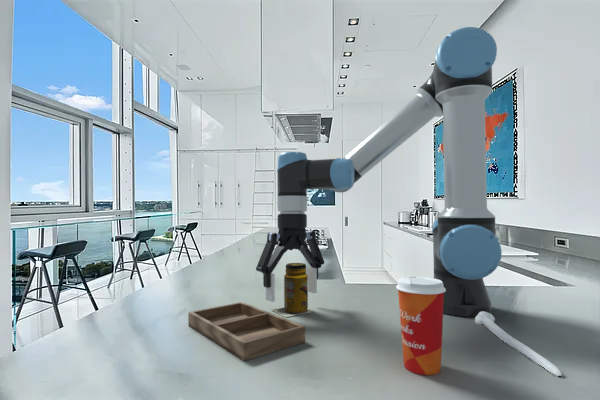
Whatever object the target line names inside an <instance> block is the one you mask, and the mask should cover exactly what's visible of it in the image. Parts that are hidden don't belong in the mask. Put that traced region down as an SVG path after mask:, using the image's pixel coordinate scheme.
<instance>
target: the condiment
mask: <svg viewBox="0 0 600 400" xmlns="http://www.w3.org/2000/svg"><path fill="white" fill-rule="evenodd" d="M283 285H284V286H283V289H284V290H283V295H284V296H283V297H284V298H283V301H284V303H283V304H284V306H283V307H279V308H272V309H271V311H273V312H274V313H276V314H278V316H279V315H280V316H281V317H284V318H288V317H293V316H299V315H305V314H310V313H315V310H312V309H309V308H308V307H309V302H308V301H309V299H308V297H309V294H308V293H309V292H308V273H307V265H306V264H305V263H304V262H289V263H286V265H285V274H284V275H283Z"/></svg>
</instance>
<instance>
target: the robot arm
mask: <svg viewBox="0 0 600 400" xmlns="http://www.w3.org/2000/svg"><path fill="white" fill-rule="evenodd" d="M497 52H498V48H497V42H496V40H495V39H494V37H493V36H492V34H491V33H489V32H488V31H486V30H484V29H483V28H481V27H476V26H466V27H460V28H458V29H456V30H453V31H451V32H450V33H448V34H447V35H446V36H445V37H444V38H443V39H442V41H441V42H440V44H439V46H438V47H437V49H436V53H435V59H434V65H433V69H432V70H433V71H432V73H431V75H430V76H429V78H428V79H426V81H425V82H424V83H422V85H421V86H420V87H419V88H417V90H416V95H415V96H414V97H412V98H411V99H410V100H409V101H408V102H407V103H406V104H404V106H402V107H401V108H400V109H398V110H397V111H396V112H395V113H394V114H393V115H392V116H390V118H388V119H387V120H386V121H384V122H383V123H382V124H381V125H380V126H379V127H377V128H376V129H375V130H374V131H373V132H372V133H370V134H369V136H367V137H366V138H365V139H364V140H362V141H361V142H360V143H359V144H357V146H355V147H354V148H353V149H352V150H350V151H349V152H348V153H347V154H346V155H344V157H343V158H341V157H337V158H327V159H308V157H307V154H306V153H304V152H302V151H285V152H281V153H280V154H279V155H278V159H277V168H276V169H277V170H276V173H277V212H279V213H278V214H277V228H278V233H277V232H268V233H267V236H266V237H267V238H266V243H265V245H264V247H263V250H262V253H261V254H260V256H259V259H258V262H257V265H256V267H255V270H256V272H259V273H262V275H263V277H262V279H263V282H262V283H263V284H262V285H263V287H264V288H265V300H266V301H269V302H271V303H272V302H275V298H276V297H275V294H276V292H275V290H276V289H275V286H276V285H275V276H276V275H275V273H273V272H274V270H275V269H276V266H277V265H278V264H279V262H280V260H281V258H282V257H283V256H284V254H285V253H286V252H287V251H288V250H289V251H293V250H299V252H300V253H301V254H302V256H303V257H304V259H305V260H306V262H307V263H308V265H309V267H307V276H308V293H312V294H317V293H318V290H317V289H318V285H317V284H318V282H317V281H318V280H319V269H320V268H322V265H324V264H325V260H324V258H323V255H322V252H321V250H320V247H319V244H318V242H317V239H316V232H315V231H314V230H306V228H307V227H308V226H307V225H308V220H307V219H308V215H307V214H306V213H305V212H307V211H308V197H307V196H308V195H307V194H308V193H307V192H308V190H309V191H310V190H329V191H333V192H335V193H340V194H341V193H346V192H348V191H349V190H351V189H352V188H353V186H354V184H355V183H357V182H358V181H359V180H360V179H361V178H362V177H363V176H365V175H366V174H367V173H368V172H370V170H372V169H374V167H376V166H377V165H378V164H380V162H382V161H383V160H384V159H385V158H387V157H388V156H389V155H391V153H393V152H394V151H395V150H396V149H398V147H400V146H401V145H403V144H404V143H405V142H406V141H407V140H409V138H411V137H412V136H413V135H414V134H416V133H417V132H418V131H419V130H420V129H422V128H423V127H424V126H426V125H427V124H428V123H429V122H431V121H432V120H433V119H434V118H435V117H437V118H438V117H439V118H440V117H442V130H443V131H442V134H443V137H442V139H443V140H442V141H443V186H444V187H443V191H444V193H443V195H444V200H443V201H444V208H443V210H442V211H441V212H440V213H439V214H438V215H437V219H435V220H434V221H433V223H432V229H431V231H432V240H433V241H432V246H433V278H434V279H438V280H441V281H442V282H443V286H444V288H445V289H446V291H445V292H444V302H443V314H446V315H449V316H450V315H452V316H460V317H476V316H477V315H478V313H479V312H481V311H485V312H488V313H490V314H492V313H493V311H492V309H493V308H492V306H493V305H492V300H491V297H490V295H489V292H488V290H487V287H486V285H485V282H484V278H485V277H488V276H489V275H491V274H492V273H493V272H495V271H496V269H497V268H498V267H499V265H500V262H501V260H502V255H503V253H502V247H501V243H500V242H499V238H498V236H496V234H497V233H496V215H494V214H493V213H492V212H491V211H490V210H489V209H488V197H487V192H488V189H487V188H488V187H487V152H486V151H487V148H486V104H485V102H486V99H487V98H488V97H489V96H490V95H491V94H492V92H493V66H494V64H495V61H496V59H497V58H496V57H497ZM305 240H306V241H305ZM278 241H279V242H278ZM277 242H278V243H277Z"/></svg>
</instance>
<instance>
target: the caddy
mask: <svg viewBox="0 0 600 400" xmlns="http://www.w3.org/2000/svg"><path fill="white" fill-rule="evenodd" d="M187 318H188V321H187V322H188V324H187V325H188V327H189V328H191V329H193V330H194V331H196V332H197V333H199V334H200V335H201V336H204V337H205V338H207V339H208V340H210V341H212V343H215V344H216V345H217V346H219V347H221V348H222V349H224V350H226V351H227V352H229V353H230V354H232V355H234V356H235V357H237V359H239V360H241V361H243V362H245V361H249V360H252V359H255V358H258V357H262V356H265V355H268V354H270V353H274V352H277V351H280V350H284V349H287V348H290V347H293V346H297V345H300V344H303V343H306V326H305V325H303V324H300V323H297V322H295V321H292V320H289V319H288V318H286V317H283V316H279V315H276V314H274V313H271V312H269V311H266V310H264V309H260V308H258V307H256V306H253V305H251V304H248V303H246V302H242V301H240V302H235V303H230V304H225V305H224V304H223V305H220V306H219V305H218V306H214V307H213V306H212V307H209V308H203V309H199V310H193V311H189V312H188V317H187Z"/></svg>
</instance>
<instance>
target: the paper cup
mask: <svg viewBox="0 0 600 400" xmlns="http://www.w3.org/2000/svg"><path fill="white" fill-rule="evenodd" d="M395 288H396V290H397V291H398V294H397V295H398V306H399V319H400V320H399V321H400V334H401V345H402V346H401V347H402V358H403V366H404V368H405V370H407V371H409V372H410V373H412V374H415V375H420V376H435V375H438V374H439V373H441V369H442V368H441V367H442V352H443V351H442V349H443V346H442V345H443V323H444V322H443V321H444V313H443V302H444V292H445V291H446V289H445V288H444V286H443V282H442V281H441V280H438V279H434V277H433V278H432V277H427V276H426V277H425V276H418V277H417V276H409V277H407V276H405V277H400V278H399V279H398V282H397V285H396V286H395Z"/></svg>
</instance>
